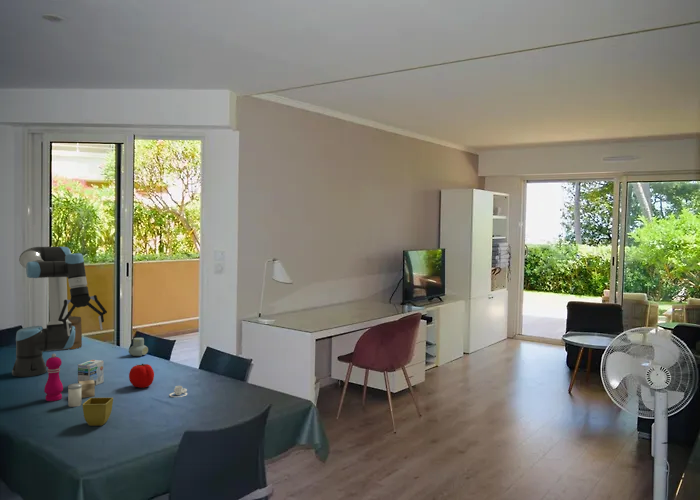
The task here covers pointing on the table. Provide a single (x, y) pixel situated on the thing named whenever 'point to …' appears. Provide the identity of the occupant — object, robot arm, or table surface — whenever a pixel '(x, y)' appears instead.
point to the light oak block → (87, 388)
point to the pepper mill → (53, 379)
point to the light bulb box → (91, 371)
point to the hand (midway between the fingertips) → (85, 332)
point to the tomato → (141, 375)
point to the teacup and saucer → (179, 391)
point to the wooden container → (76, 331)
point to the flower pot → (97, 410)
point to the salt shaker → (74, 395)
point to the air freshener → (138, 347)
